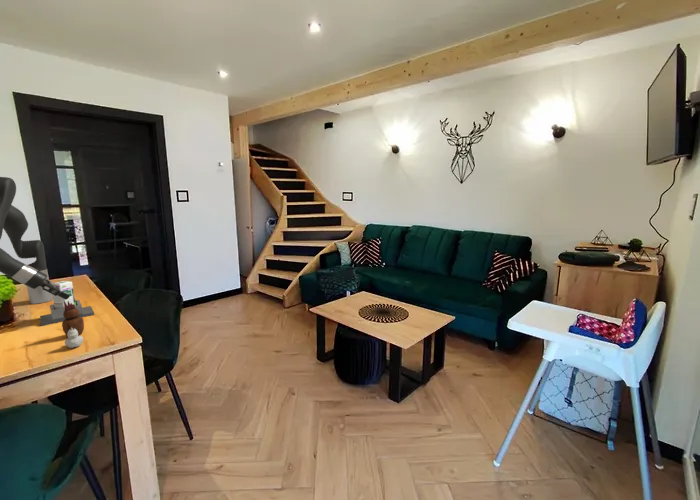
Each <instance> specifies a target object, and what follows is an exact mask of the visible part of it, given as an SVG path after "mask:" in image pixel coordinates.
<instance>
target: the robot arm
mask: <svg viewBox="0 0 700 500" xmlns="http://www.w3.org/2000/svg"><path fill="white" fill-rule="evenodd" d="M16 194H17V185H16V182H15V181H14V179H13V178H11V177H6V176H0V240H1V239H2V236H3V231H4V232H5V233H6V235H7V237H8V239H9V241H10V243H11V246H12V247H13V250H14V253H15V254H16V256H17V257H18V259H35V258H36V259H35V261H33V262H31V263H29V264H26V263H24V262H22V261H20V260H18V259H16V258H15V257H13V256H11V255H10V254H9V253H8V252H6V251H5V250H4V249H3V248H1V247H0V273H1V274H4V275H5V276H7V277H10V278H12V279H13V280H15V281H16V282H18V283H20V284H23V285H24V286H26V290H27V296H28V300H29V303H30V304H31V305H34V304H35V305H36V304H43V303H47V302H50V301H53V298H52V294H53V295H55V296H60V297H62V298H64V299H66V300H67V299H68V298H69V297H70V295H68V294H66V293H64V292H62V291H61V290H59V289H58V287H57V286H55V285H53V284H54V283H55V282H53V281H51V280H50V277H49V273H48V266H47V259H46V253H45V246H44V243H43V241H42V240H39V239H38V240H37V239H36V240H35V239H34V240H32V239H31V240H22V238H23V236H24V234H25V233H26V231H27V229H28V228H29V222H28V220H27V218H26V216H25V214H24V213H23V212H22V211H21V210H20V209H19V208H18V207H16V206H14V205H12V204H13V202H14V199H15V196H16ZM55 291H57V292H56V293H55Z"/></svg>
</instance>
